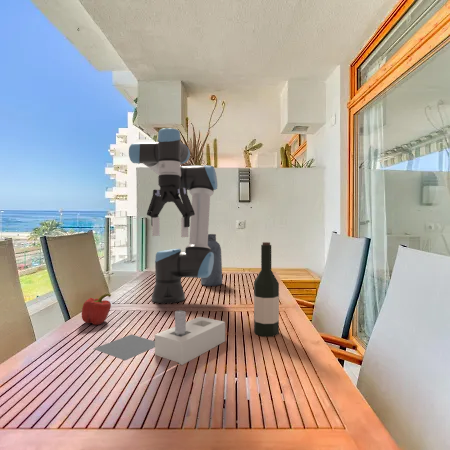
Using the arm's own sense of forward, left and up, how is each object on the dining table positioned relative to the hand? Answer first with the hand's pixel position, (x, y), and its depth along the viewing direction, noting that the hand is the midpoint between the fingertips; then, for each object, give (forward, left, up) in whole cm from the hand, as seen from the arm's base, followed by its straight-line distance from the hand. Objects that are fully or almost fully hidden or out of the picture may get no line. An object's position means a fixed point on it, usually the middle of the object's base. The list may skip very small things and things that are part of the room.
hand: (169, 236), depth 116 cm
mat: (+2, -20, -32) cm, 38 cm away
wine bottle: (+30, +14, -32) cm, 46 cm away
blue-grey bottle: (-32, +67, -32) cm, 81 cm away
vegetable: (-26, -11, -32) cm, 43 cm away
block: (+18, -10, -32) cm, 38 cm away
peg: (+18, -15, -32) cm, 39 cm away
